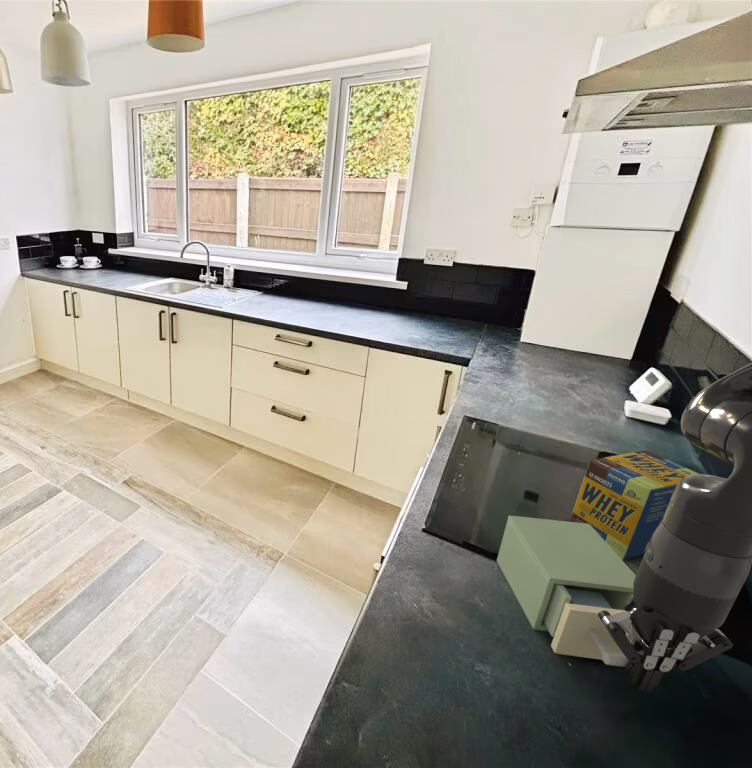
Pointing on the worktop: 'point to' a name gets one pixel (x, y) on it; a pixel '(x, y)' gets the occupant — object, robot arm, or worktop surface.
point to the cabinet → (557, 562)
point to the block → (588, 598)
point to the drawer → (584, 625)
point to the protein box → (627, 498)
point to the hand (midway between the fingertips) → (638, 684)
